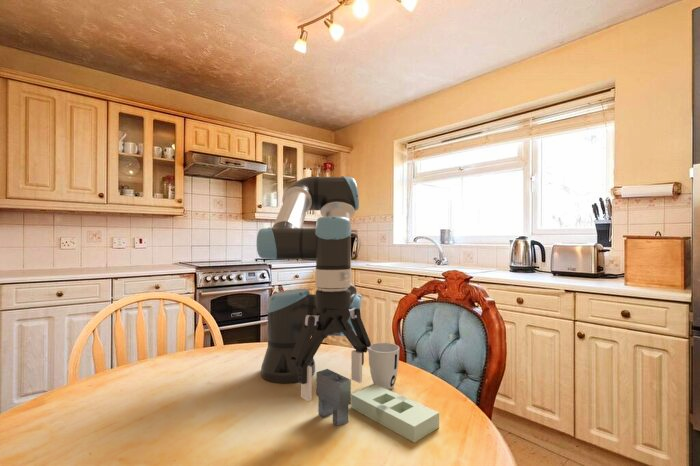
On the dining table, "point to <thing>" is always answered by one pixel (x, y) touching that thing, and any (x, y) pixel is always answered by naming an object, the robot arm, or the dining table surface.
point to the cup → (384, 364)
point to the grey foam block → (333, 395)
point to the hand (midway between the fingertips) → (333, 389)
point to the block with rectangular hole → (396, 412)
